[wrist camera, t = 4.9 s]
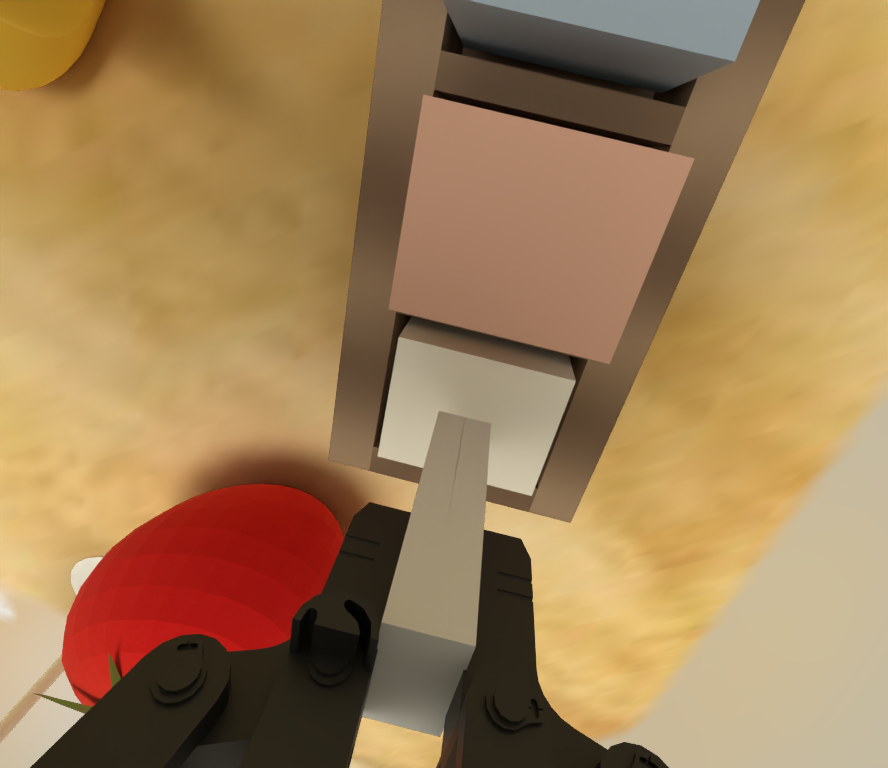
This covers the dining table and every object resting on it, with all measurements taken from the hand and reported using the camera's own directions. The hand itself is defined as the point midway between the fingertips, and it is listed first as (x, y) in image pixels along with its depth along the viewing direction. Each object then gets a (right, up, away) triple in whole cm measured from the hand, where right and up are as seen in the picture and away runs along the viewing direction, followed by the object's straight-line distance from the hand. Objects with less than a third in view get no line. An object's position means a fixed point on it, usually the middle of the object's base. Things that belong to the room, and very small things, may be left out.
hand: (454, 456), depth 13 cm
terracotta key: (+2, +8, +2) cm, 8 cm away
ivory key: (+1, +3, +7) cm, 8 cm away
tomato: (-10, -7, +15) cm, 19 cm away
